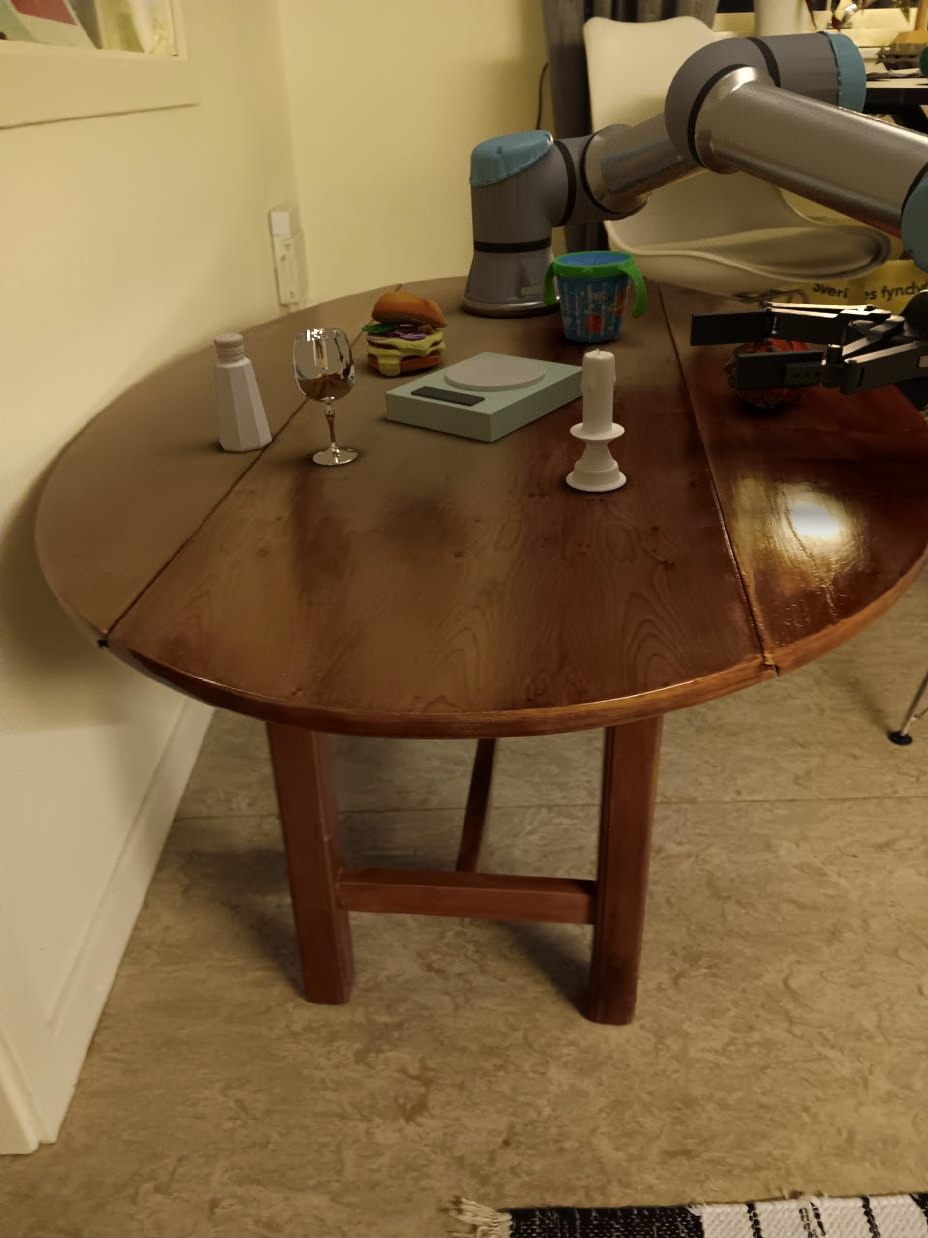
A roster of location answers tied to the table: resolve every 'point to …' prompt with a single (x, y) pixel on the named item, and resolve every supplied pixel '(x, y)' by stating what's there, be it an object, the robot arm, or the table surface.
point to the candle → (597, 427)
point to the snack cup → (594, 293)
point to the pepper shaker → (238, 398)
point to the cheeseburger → (404, 333)
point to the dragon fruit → (770, 396)
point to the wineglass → (325, 379)
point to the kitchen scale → (485, 395)
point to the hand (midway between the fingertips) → (712, 350)
